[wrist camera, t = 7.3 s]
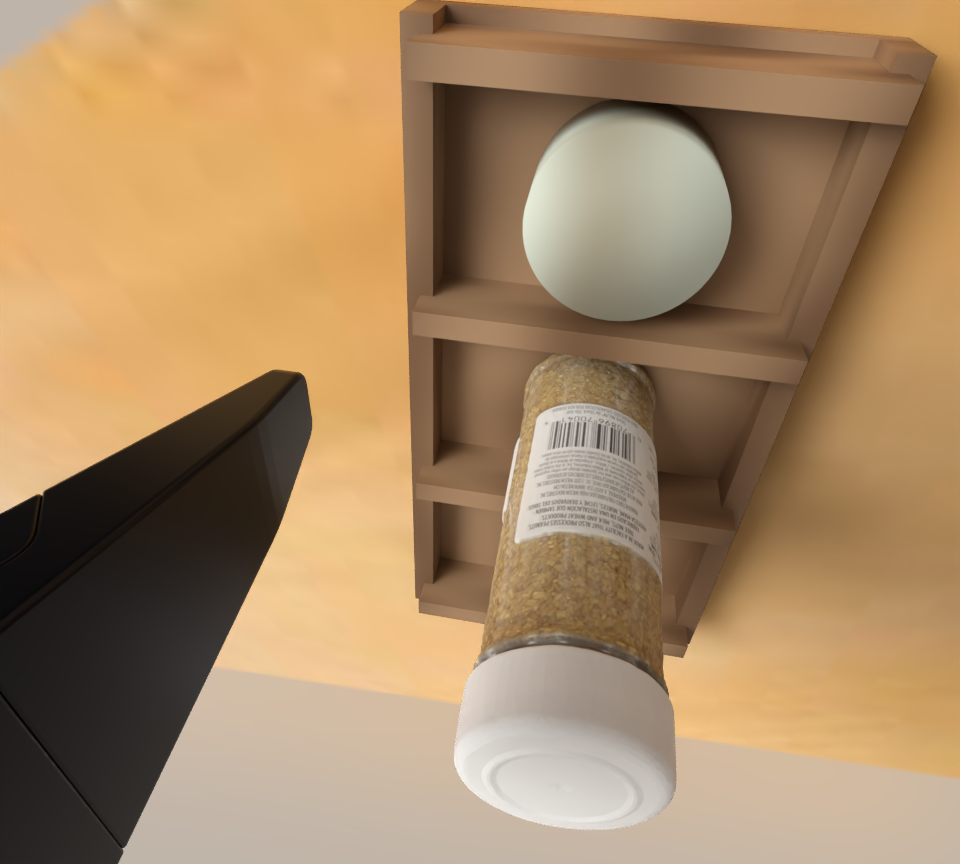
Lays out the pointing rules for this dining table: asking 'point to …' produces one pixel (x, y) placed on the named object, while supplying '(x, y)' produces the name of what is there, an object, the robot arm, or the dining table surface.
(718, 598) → the dining table surface
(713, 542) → the rack
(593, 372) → the sprinkles bottle
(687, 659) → the dining table surface
